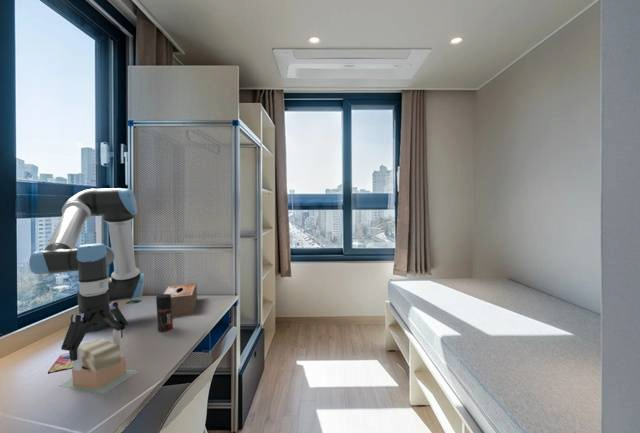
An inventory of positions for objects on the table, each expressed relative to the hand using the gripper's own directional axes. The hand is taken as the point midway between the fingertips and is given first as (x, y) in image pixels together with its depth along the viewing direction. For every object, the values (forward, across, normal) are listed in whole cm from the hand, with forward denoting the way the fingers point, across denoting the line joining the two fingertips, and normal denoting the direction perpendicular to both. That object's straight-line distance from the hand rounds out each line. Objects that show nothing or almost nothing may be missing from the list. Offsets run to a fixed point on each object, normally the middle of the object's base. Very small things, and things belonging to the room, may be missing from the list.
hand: (99, 358), depth 103 cm
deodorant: (+7, +39, +10) cm, 41 cm away
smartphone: (+7, +6, +23) cm, 25 cm away
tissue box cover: (+7, +65, +24) cm, 70 cm away
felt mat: (+7, 0, 0) cm, 7 cm away
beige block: (+1, 0, 0) cm, 1 cm away
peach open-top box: (+6, 0, 0) cm, 6 cm away
